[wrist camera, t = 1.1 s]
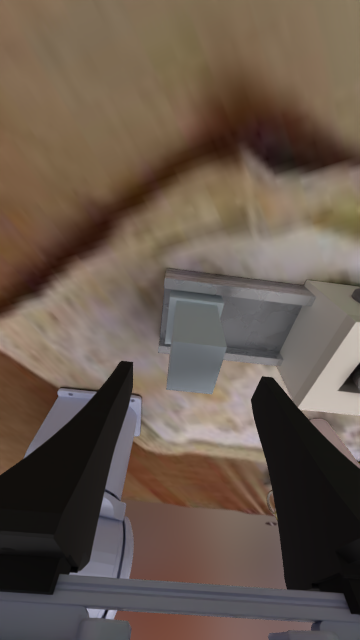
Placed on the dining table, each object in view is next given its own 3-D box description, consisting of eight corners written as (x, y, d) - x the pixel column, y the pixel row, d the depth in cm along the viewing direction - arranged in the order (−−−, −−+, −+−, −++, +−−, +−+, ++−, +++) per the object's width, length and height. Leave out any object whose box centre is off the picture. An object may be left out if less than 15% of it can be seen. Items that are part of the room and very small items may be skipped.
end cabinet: (271, 355, 22) (296, 409, 16) (308, 274, 17) (360, 315, 12) (339, 362, 22) (384, 418, 17) (394, 286, 17) (479, 330, 12)
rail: (160, 338, 21) (158, 352, 19) (167, 268, 17) (164, 278, 15) (272, 351, 21) (280, 366, 20) (303, 285, 17) (316, 297, 16)
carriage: (165, 335, 19) (158, 390, 14) (170, 289, 17) (164, 337, 12) (210, 340, 19) (219, 396, 14) (222, 296, 17) (236, 345, 12)
